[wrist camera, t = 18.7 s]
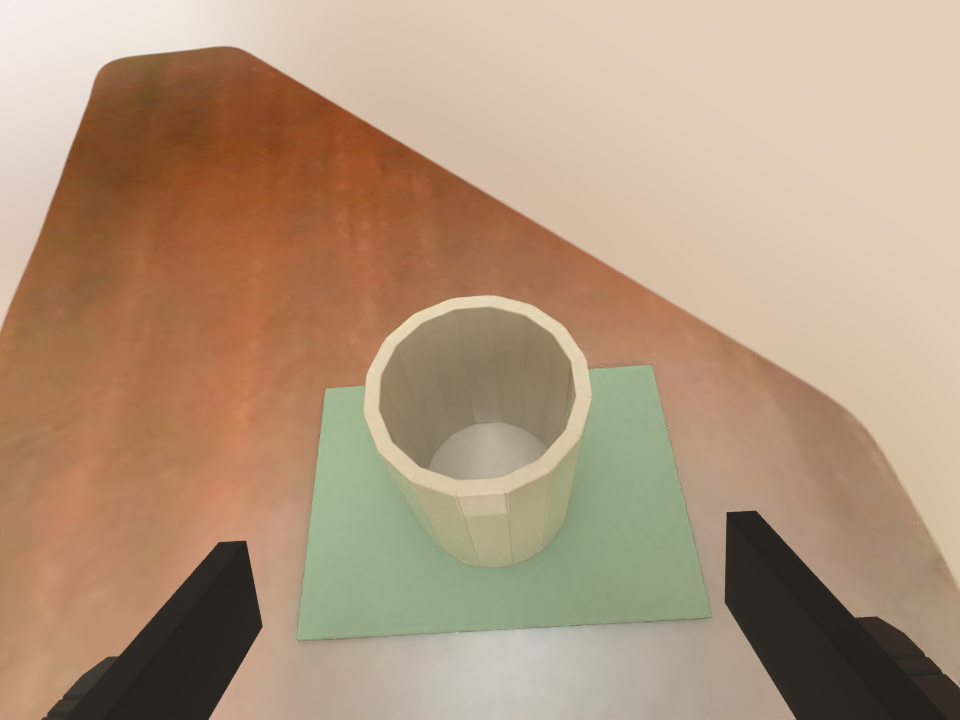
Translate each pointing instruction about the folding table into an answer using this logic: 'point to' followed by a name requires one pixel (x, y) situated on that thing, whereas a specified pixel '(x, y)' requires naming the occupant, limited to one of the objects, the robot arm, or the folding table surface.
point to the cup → (481, 424)
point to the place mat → (522, 587)
